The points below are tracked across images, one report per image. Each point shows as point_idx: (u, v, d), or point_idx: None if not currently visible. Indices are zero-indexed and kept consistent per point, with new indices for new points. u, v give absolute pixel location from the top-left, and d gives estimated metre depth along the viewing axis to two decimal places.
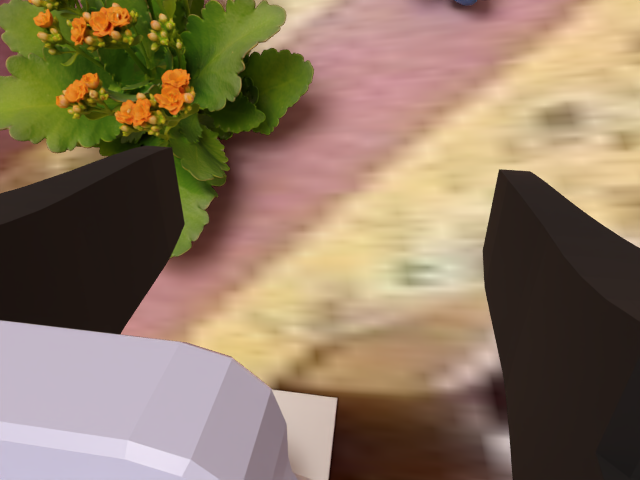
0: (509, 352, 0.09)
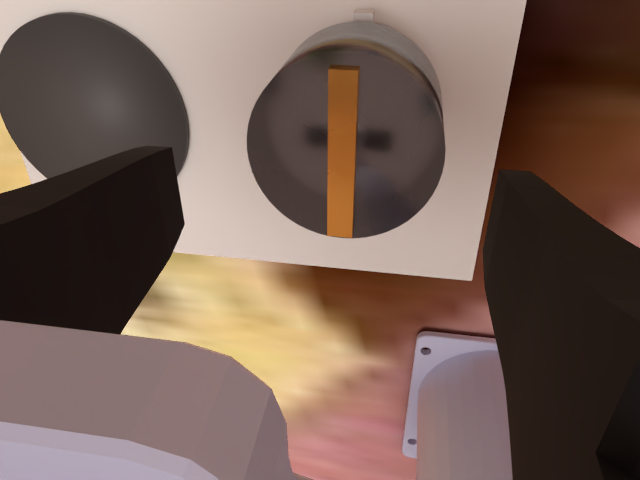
0: (509, 352, 0.09)
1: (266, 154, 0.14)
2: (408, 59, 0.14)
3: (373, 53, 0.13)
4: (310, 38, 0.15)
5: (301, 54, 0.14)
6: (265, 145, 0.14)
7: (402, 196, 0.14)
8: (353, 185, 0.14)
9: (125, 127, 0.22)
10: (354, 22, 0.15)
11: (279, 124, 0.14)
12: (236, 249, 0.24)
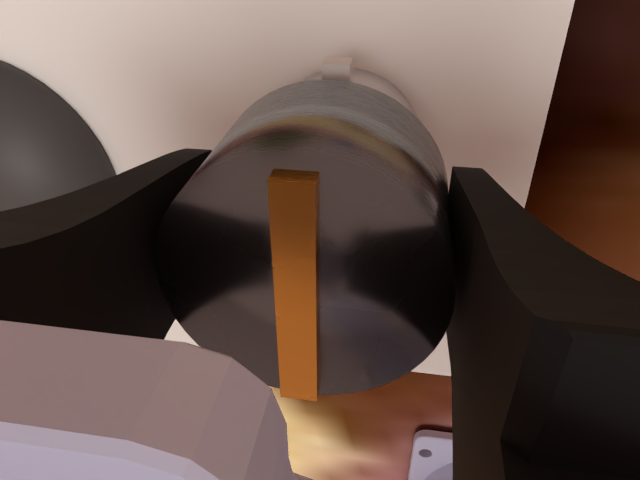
0: (454, 346, 0.10)
1: (186, 285, 0.10)
2: (398, 149, 0.09)
3: (341, 149, 0.08)
4: (258, 104, 0.11)
5: (233, 142, 0.09)
6: (184, 274, 0.09)
7: (390, 347, 0.10)
8: (315, 336, 0.09)
9: (39, 194, 0.17)
10: (321, 81, 0.11)
11: (200, 247, 0.09)
12: None
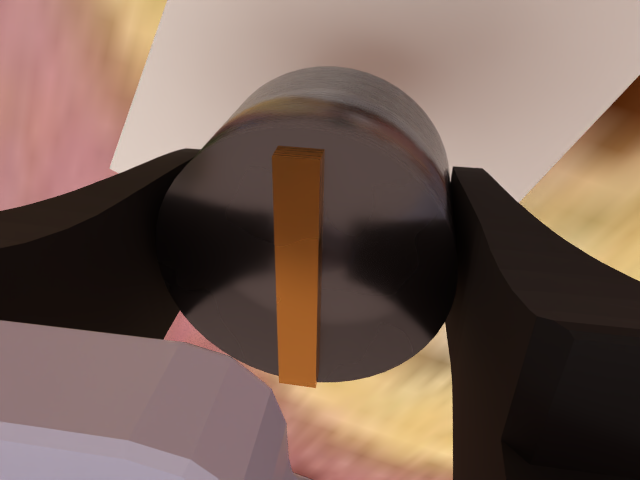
0: (455, 346, 0.09)
1: (186, 267, 0.09)
2: (402, 132, 0.09)
3: (346, 128, 0.08)
4: (261, 89, 0.11)
5: (238, 122, 0.09)
6: (184, 255, 0.09)
7: (391, 333, 0.10)
8: (316, 320, 0.09)
9: None
10: (325, 68, 0.11)
11: (202, 227, 0.09)
12: (530, 172, 0.20)
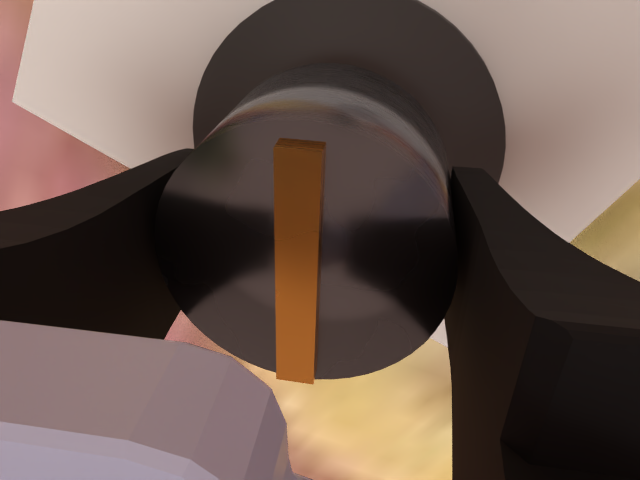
0: (454, 346, 0.09)
1: (185, 260, 0.09)
2: (404, 127, 0.09)
3: (348, 121, 0.08)
4: (262, 85, 0.11)
5: (239, 115, 0.09)
6: (183, 248, 0.09)
7: (390, 329, 0.09)
8: (315, 315, 0.09)
9: None
10: (326, 64, 0.11)
11: (202, 220, 0.09)
12: None
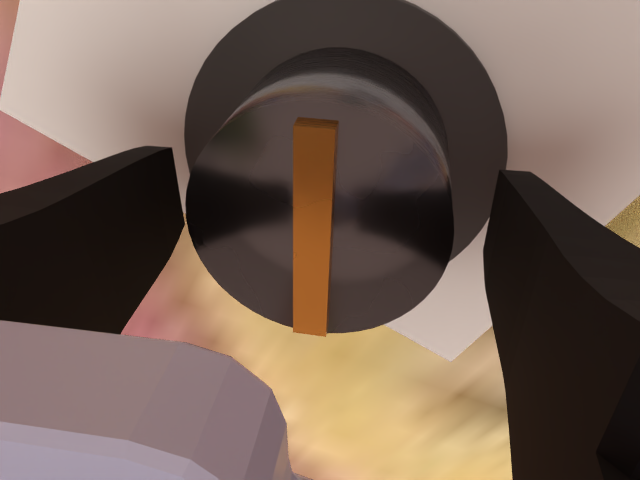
0: (509, 352, 0.09)
1: (212, 226, 0.11)
2: (407, 107, 0.10)
3: (358, 102, 0.09)
4: (278, 68, 0.12)
5: (260, 96, 0.10)
6: (210, 215, 0.10)
7: (394, 287, 0.11)
8: (328, 274, 0.10)
9: None
10: (337, 49, 0.12)
11: (227, 190, 0.10)
12: None
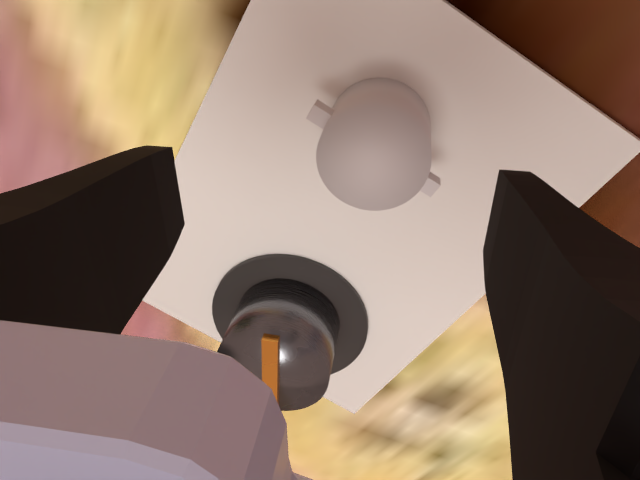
0: (509, 352, 0.09)
1: None
2: (311, 321, 0.24)
3: (288, 327, 0.23)
4: (258, 288, 0.25)
5: (249, 316, 0.24)
6: None
7: (306, 394, 0.24)
8: (277, 389, 0.24)
9: None
10: (285, 280, 0.25)
11: (234, 354, 0.24)
12: (452, 311, 0.25)
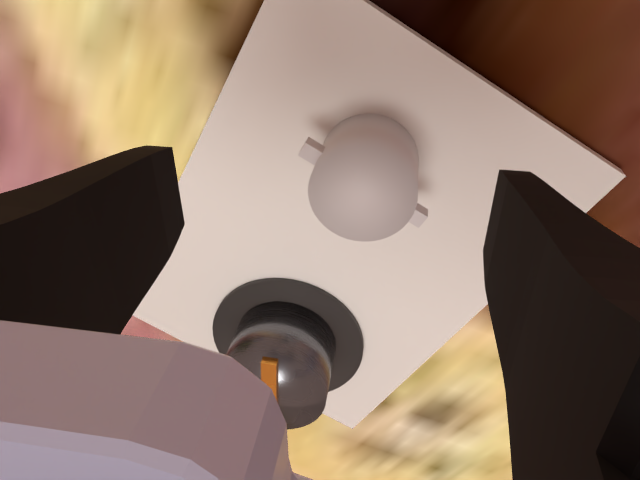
0: (509, 352, 0.09)
1: None
2: (308, 343, 0.25)
3: (286, 350, 0.24)
4: (257, 311, 0.26)
5: (248, 339, 0.24)
6: None
7: (304, 413, 0.25)
8: None
9: None
10: (283, 303, 0.26)
11: None
12: (444, 331, 0.26)
